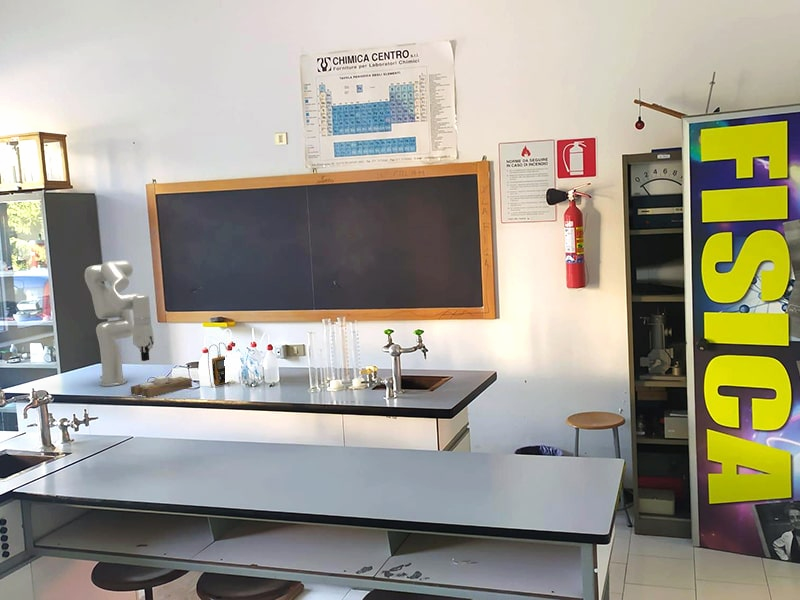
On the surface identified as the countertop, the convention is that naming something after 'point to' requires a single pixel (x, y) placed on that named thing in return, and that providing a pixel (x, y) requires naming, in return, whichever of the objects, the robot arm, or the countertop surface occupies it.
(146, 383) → the button
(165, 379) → the middle button
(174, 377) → the button
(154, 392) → the button board
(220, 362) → the multimeter
